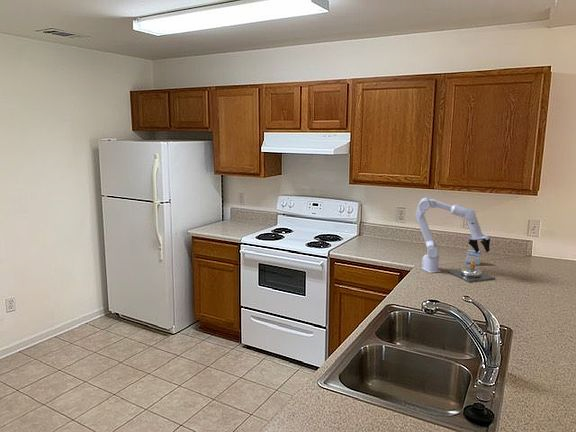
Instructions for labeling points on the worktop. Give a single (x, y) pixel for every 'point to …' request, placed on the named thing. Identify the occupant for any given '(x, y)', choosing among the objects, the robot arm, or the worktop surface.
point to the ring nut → (471, 271)
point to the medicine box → (473, 257)
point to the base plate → (471, 279)
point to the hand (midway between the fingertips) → (482, 251)
